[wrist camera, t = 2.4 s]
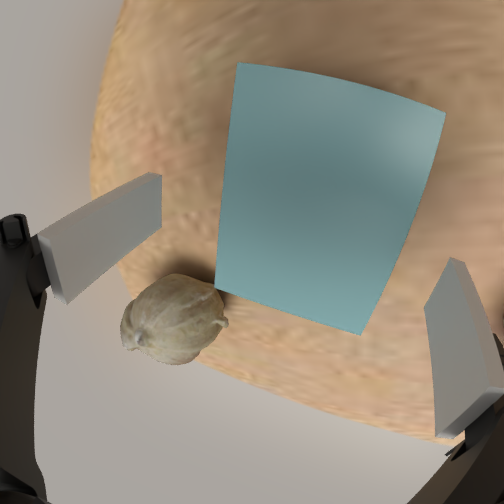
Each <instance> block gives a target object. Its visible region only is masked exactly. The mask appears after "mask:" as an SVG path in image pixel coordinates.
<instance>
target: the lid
mask: <svg viewBox="0 0 504 504" xmlns="http://www.w3.org/2000/svg"><path fill="white" fill-rule="evenodd" d="M445 116H446V113H445V112H443V111H440V110H438V109H435V108H433V107H430V106H427V105H425V104H422V103H419V102H416V101H414V100H411V99H408V98H405V97H402V96H399V95H396V94H393V93H390V92H386V91H383V90H380V89H376V88H373V87H369V86H366V85H362V84H358V83H354V82H350V81H346V80H342V79H338V78H334V77H329V76H325V75H320V74H315V73H310V72H304V71H299V70H293V69H287V68H280V67H273V66H266V65H258V64H249V63H239V62H237V69H236V77H235V85H234V92H233V100H232V108H231V117H230V125H229V134H228V143H227V152H226V161H225V171H224V181H223V191H222V201H221V212H220V223H219V234H218V246H217V258H216V271H215V285H214V288H217V289H219V290H222V291H225V292H228V293H231V294H234V295H236V296H239V297H242V298H245V299H248V300H251V301H254V302H257V303H260V304H263V305H266V306H269V307H272V308H275V309H278V310H281V311H284V312H287V313H290V314H293V315H296V316H299V317H302V318H305V319H308V320H311V321H315V322H318V323H321V324H324V325H327V326H330V327H334V328H337V329H340V330H344V331H347V332H350V333H353V334H357V335H360V336H361V334H362V332H363V330H364V328H365V326H366V324H367V322H368V320H369V318H370V316H371V314H372V312H373V310H374V308H375V306H376V304H377V302H378V300H379V298H380V296H381V294H382V292H383V290H384V288H385V286H386V283H387V281H388V279H389V277H390V275H391V272H392V270H393V268H394V266H395V263H396V261H397V259H398V256H399V254H400V252H401V249H402V247H403V245H404V242H405V240H406V237H407V235H408V232H409V230H410V227H411V224H412V222H413V219H414V217H415V214H416V211H417V208H418V206H419V203H420V200H421V197H422V194H423V191H424V189H425V186H426V183H427V180H428V176H429V173H430V170H431V167H432V164H433V160H434V157H435V154H436V150H437V147H438V143H439V140H440V136H441V132H442V128H443V125H444V121H445Z"/></svg>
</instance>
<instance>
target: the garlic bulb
mask: <svg viewBox="0 0 504 504" xmlns="http://www.w3.org/2000/svg"><path fill="white" fill-rule="evenodd" d="M223 308H224V304H223V302H222V299H221V297H220V295H219V293H218V291H217V289H216V288H214V285H213V284H211V283H205V282H202V281H200V280H197V279H194V278H192V277H189V276H186V275H182V274H169V275H167V276H165V277H163V278H161V279H159V280H158V281H156V282H155V283H153V284H152V285H150V286H149V287H147V288H146V289H145V290H144V291H142V292H141V293H140V294H139V296H138V297H137V298H136V299H134V300H133V301H131V302H130V303H129V304H128V306H127V307H126V309H125V312H124V315H123V318H122V321H121V325H120V331H121V339H122V344H123V346H124V347H125V348H126V349H127V350H131V351H133V350H134V349H136V348H137V349H139V350H140V351H141V352H143V353H145V354H147V355H148V356H150V357H151V358H153V359H154V360H156V361H158V362H162V363H165V364H170V365H181V364H186V363H189V362H191V361H192V360H193V359H194V358H195V357H197V356H198V355H199V353H200V351H201V350H202V349H203V348H205V347H207V346H208V345H209V344H210V343H212V342H213V341H214V340H215V338H216V337H217V335H218V334H219V332H220V331H221V329H222V327H225V328H227V327H228V325H229V323H228V319H227V318H226V317H223Z"/></svg>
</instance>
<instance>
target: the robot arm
mask: <svg viewBox="0 0 504 504" xmlns="http://www.w3.org/2000/svg"><path fill="white" fill-rule="evenodd" d="M161 196H162V175H159V174H155V173H150V172H148V173H146V174H144V175H142V176H140V177H138V178H136V179H134V180H132V181H130V182H128V183H126V184H124V185H122V186H120V187H118V188H116V189H114V190H112V191H110V192H108V193H106V194H104V195H103V196H101V197H99V198H97V199H95V200H93V201H92V202H90V203H88V204H86V205H84V206H83V207H81V208H79V209H77V210H75V211H74V212H72V213H70V214H69V215H67V216H65V217H63V218H62V219H60V220H59V221H57V222H55V223H54V224H52V225H50V226H49V227H47V228H45V229H44V230H42V231H40V232H39V233H37V234H36V235H34V236H33V237H30V233H29V228H28V224H27V219H26V216H25V215H23V214H13V215H9V216H6V217H4V218H2V219H1V220H0V504H51V503H49V502H47V496H46V489H45V483H44V478H43V476H42V472H41V471H40V469H39V467H38V465H37V462H36V459H35V449H34V400H35V381H36V369H37V359H38V350H39V342H40V335H41V328H42V322H43V316H44V310H45V305H46V300H47V293H46V291H45V289H46V288H47V287H49V286H50V285H51V288H52V291H53V294H54V297H55V298H56V299H58V300H60V301H61V302H63V303H64V304H66V305H67V304H69V303H70V302H71V301H72V300H73V299H74V298H75V297H77V296H78V295H79V294H80V293H81V292H82V291H84V290H85V289H86V288H87V287H88V286H89V285H91V284H92V283H93V282H94V281H95V280H96V279H98V278H99V277H100V276H101V275H102V274H104V273H105V272H106V271H107V270H108V269H109V268H111V267H112V266H113V265H114V264H116V263H117V262H118V261H119V260H121V259H122V258H123V257H124V256H125V255H127V254H128V253H129V252H130V251H132V250H133V249H134V248H135V247H137V246H138V245H139V244H141V243H142V242H143V241H144V240H146V239H147V238H148V237H149V236H151V235H152V234H153V233H155V232H156V231H157V230H159V229H160V228H161V227H162V224H161ZM424 311H425V317H426V324H427V331H428V338H429V346H430V354H431V364H432V375H433V388H434V407H435V437H439V438H448V439H454V438H455V437H456V436H458V435H459V434H460V433H461V432H462V431H464V430H465V440H463V441H462V442H461V443H459V444H458V445H457V446H455V447H454V448H453V449H451V450H450V451H449V452H447V453H446V454H445V455H446V456H448V455H450V454H451V453H452V454H451V455H450V456H449V457H448V459H447V460H446V461H445V462H444V464H443V465H442V466H441V467H440V469H439V470H438V471H437V472H436V473H435V474H434V475H433V477H432V478H431V479H430V480H429V481H428V482H427V483H426V484H425V485H424V487H423V488H422V489H421V490H420V491H419V492H418V493H417V494H416V495H415V496H414V497H413V498H412V499H411V500H410V501H409V502H408V503H407V504H504V348H503V345H502V343H501V342H500V340H499V339H498V337H497V336H496V334H494V333H492V330H491V327H490V324H489V322H488V319H487V316H486V313H485V311H484V308H483V305H482V303H481V300H480V298H479V295H478V293H477V290H476V288H475V285H474V283H473V281H472V278H471V276H470V274H469V272H468V269H467V267H466V265H465V263H464V262H462V261H459V260H456V259H454V258H451V257H450V259H449V261H448V263H447V265H446V267H445V269H444V271H443V273H442V275H441V277H440V279H439V281H438V283H437V284H436V286H435V288H434V290H433V292H432V294H431V296H430V297H429V299H428V301H427V303H426V305H425V306H424Z"/></svg>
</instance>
